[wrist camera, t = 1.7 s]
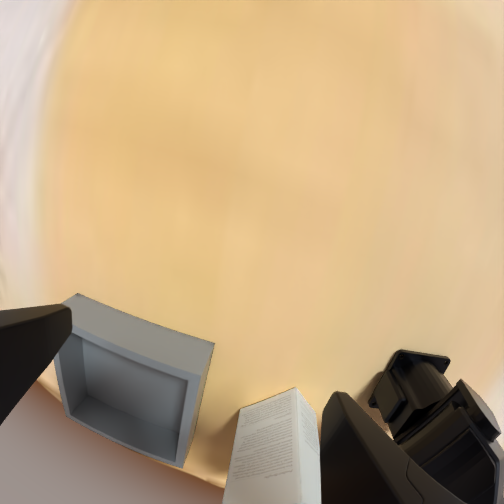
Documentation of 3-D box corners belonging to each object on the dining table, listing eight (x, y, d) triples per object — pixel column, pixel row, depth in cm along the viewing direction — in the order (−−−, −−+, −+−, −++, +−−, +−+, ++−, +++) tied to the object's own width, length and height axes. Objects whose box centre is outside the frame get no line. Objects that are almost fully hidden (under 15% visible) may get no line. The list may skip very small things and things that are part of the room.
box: (214, 343, 22) (201, 375, 18) (193, 438, 26) (182, 468, 21) (77, 293, 23) (47, 311, 19) (85, 393, 26) (66, 416, 22)
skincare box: (263, 432, 25) (250, 533, 13) (239, 407, 24) (215, 515, 12) (318, 412, 23) (328, 520, 12) (297, 384, 23) (300, 503, 11)
